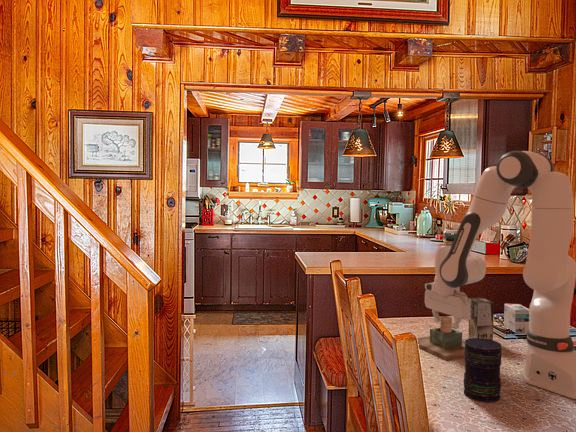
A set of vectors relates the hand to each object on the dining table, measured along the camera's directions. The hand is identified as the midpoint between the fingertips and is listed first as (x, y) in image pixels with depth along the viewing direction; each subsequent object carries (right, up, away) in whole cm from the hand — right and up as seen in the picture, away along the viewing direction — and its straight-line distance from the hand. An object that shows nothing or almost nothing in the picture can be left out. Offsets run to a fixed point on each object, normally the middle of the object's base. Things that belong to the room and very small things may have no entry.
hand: (446, 325), depth 176 cm
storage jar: (-3, -11, -40) cm, 42 cm away
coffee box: (+16, -8, +9) cm, 20 cm away
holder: (0, -9, 0) cm, 9 cm away
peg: (0, -7, 0) cm, 7 cm away
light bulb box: (+36, -8, +20) cm, 42 cm away
